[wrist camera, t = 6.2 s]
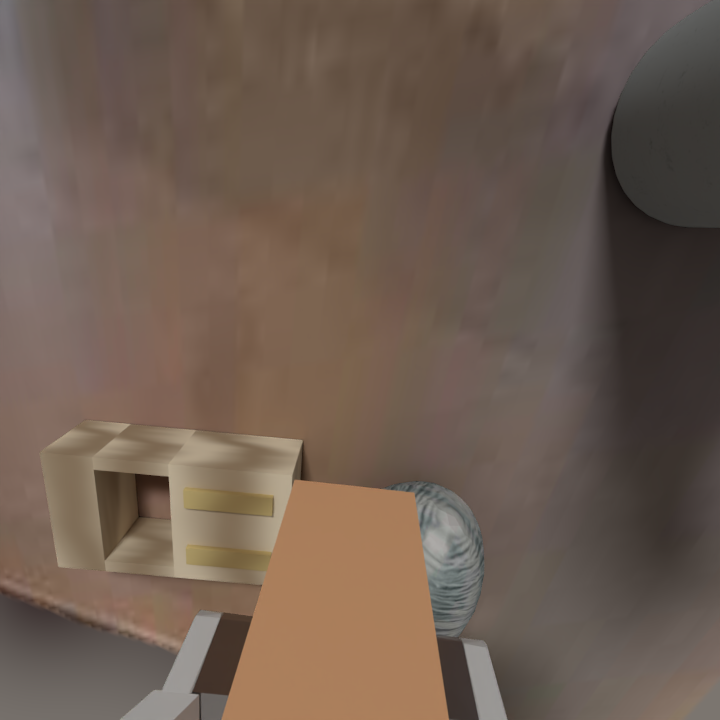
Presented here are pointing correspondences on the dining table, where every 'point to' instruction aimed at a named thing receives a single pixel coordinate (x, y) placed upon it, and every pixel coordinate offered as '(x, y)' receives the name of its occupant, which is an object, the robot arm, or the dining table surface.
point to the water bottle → (674, 125)
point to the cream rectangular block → (187, 500)
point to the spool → (448, 554)
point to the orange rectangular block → (342, 614)
